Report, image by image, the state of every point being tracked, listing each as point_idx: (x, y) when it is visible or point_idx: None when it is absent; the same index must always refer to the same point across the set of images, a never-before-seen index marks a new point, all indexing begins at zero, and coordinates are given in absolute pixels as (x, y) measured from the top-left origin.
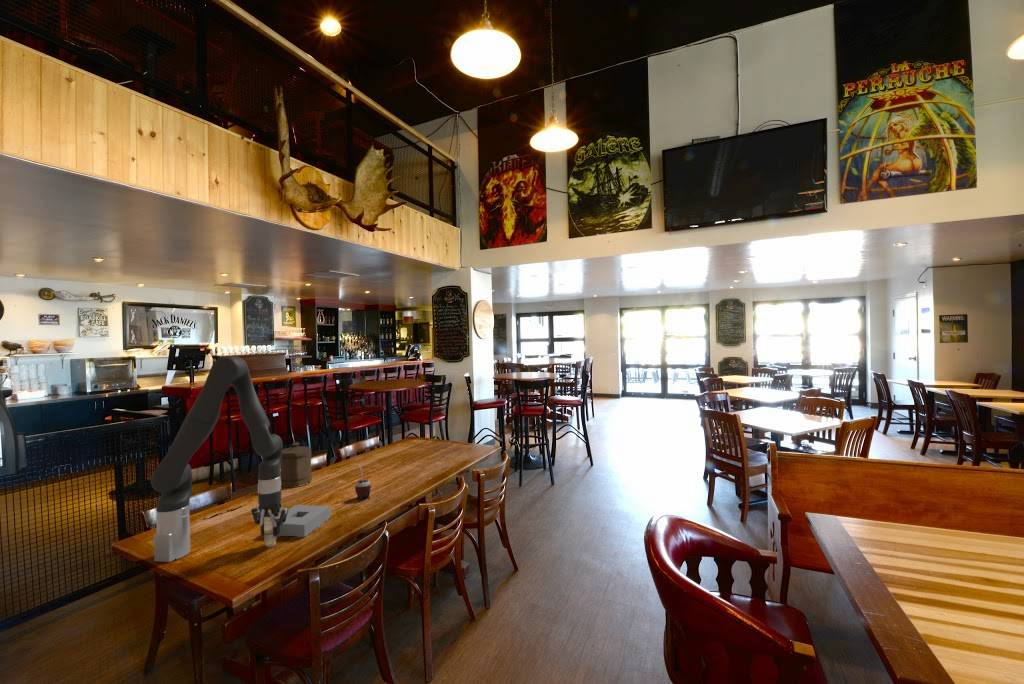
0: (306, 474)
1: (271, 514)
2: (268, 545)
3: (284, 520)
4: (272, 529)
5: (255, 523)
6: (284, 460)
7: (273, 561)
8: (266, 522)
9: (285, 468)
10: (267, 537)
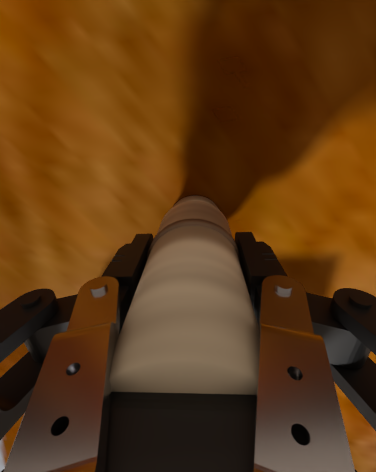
0: None
1: (39, 462)
2: (187, 200)
3: (27, 357)
4: (148, 262)
5: (368, 294)
6: None
7: (2, 23)
8: (183, 296)
9: None
10: (184, 213)
